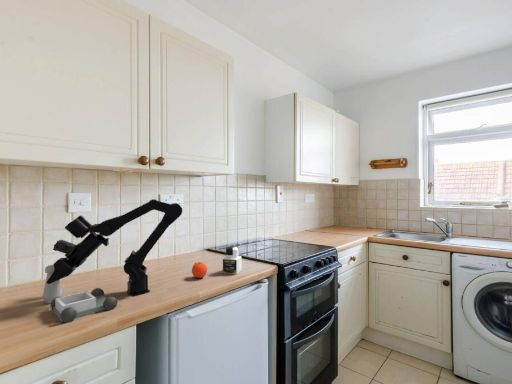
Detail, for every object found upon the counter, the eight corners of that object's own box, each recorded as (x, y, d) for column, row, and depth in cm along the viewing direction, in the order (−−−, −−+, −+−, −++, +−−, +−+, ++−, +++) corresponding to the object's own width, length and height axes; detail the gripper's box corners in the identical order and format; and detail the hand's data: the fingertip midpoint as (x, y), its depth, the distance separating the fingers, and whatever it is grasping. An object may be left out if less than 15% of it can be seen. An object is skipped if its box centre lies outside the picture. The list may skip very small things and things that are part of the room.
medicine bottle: (222, 273, 135) (222, 248, 135) (228, 269, 142) (228, 245, 142) (236, 274, 133) (236, 249, 133) (241, 270, 140) (241, 246, 139)
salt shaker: (66, 298, 105) (65, 263, 105) (55, 304, 99) (55, 267, 99) (49, 298, 105) (49, 263, 105) (38, 304, 99) (38, 267, 99)
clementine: (187, 277, 129) (187, 261, 129) (200, 274, 134) (200, 259, 134) (197, 281, 124) (197, 264, 124) (210, 277, 129) (210, 261, 129)
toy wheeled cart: (102, 297, 105) (102, 285, 105) (117, 307, 96) (117, 294, 96) (50, 310, 94) (50, 297, 94) (61, 324, 84) (61, 309, 84)
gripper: (77, 229, 112) (44, 258, 109) (60, 236, 95) (20, 271, 91) (99, 247, 115) (68, 277, 111) (87, 257, 97) (49, 293, 94)
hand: (52, 279), depth 102 cm, fingers open, 9 cm apart
